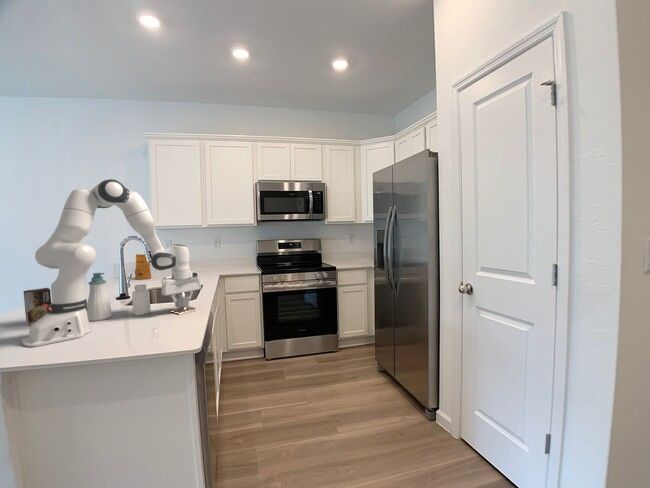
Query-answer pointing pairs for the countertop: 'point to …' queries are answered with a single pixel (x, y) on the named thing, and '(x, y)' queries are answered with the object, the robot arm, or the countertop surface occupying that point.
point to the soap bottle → (98, 299)
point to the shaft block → (182, 309)
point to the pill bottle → (141, 300)
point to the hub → (182, 301)
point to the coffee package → (142, 267)
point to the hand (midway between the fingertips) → (182, 300)
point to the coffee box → (36, 304)
